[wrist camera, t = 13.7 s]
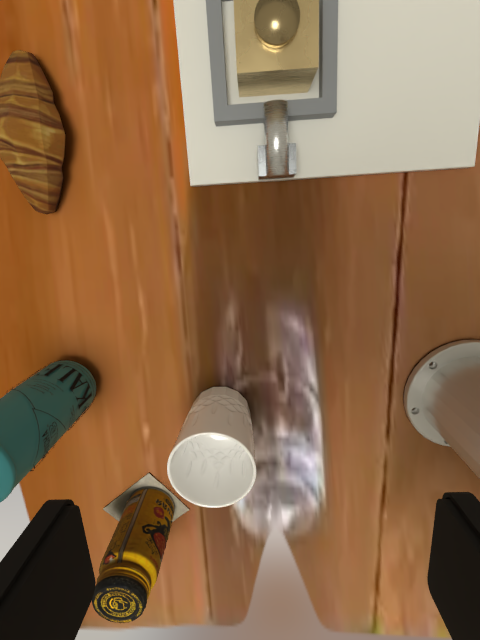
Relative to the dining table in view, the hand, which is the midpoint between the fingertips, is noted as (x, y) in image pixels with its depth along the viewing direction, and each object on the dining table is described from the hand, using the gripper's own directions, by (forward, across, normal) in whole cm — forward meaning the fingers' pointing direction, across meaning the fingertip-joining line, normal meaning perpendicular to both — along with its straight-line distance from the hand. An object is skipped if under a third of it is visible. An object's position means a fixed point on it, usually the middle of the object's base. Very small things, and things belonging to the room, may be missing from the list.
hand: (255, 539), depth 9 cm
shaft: (+27, -3, -15) cm, 31 cm away
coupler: (+27, -3, -22) cm, 35 cm away
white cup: (+28, +4, +13) cm, 32 cm away
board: (+28, -8, -22) cm, 36 cm away
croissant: (+29, +19, -17) cm, 38 cm away
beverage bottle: (+28, +21, +8) cm, 36 cm away
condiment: (+28, +15, +26) cm, 42 cm away
